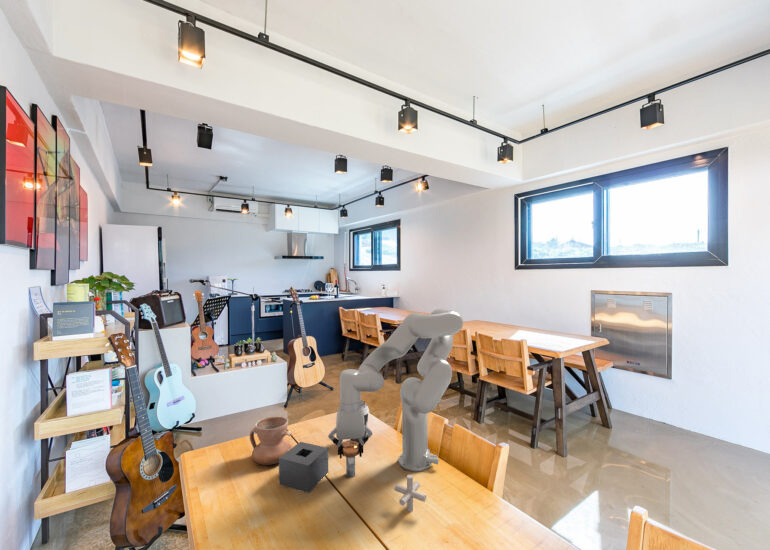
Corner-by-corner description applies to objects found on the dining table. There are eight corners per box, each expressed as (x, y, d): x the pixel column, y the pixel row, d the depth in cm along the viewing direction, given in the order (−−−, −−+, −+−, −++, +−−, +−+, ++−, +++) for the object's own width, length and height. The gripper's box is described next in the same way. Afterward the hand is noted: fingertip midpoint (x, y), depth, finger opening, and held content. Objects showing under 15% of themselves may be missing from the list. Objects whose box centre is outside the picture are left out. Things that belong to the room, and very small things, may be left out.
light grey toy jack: (417, 526, 93) (417, 491, 94) (387, 513, 99) (387, 479, 99) (431, 505, 102) (431, 473, 102) (403, 494, 107) (403, 463, 107)
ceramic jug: (301, 452, 133) (300, 416, 134) (280, 472, 119) (280, 432, 120) (262, 447, 138) (262, 412, 139) (238, 465, 124) (238, 427, 125)
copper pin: (362, 471, 120) (362, 442, 120) (354, 482, 114) (354, 451, 114) (347, 468, 122) (346, 439, 122) (338, 477, 116) (338, 447, 116)
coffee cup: (368, 447, 137) (368, 411, 137) (345, 447, 137) (345, 411, 137) (370, 436, 146) (370, 402, 146) (348, 436, 146) (348, 402, 146)
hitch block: (328, 472, 119) (328, 447, 119) (308, 493, 108) (308, 465, 108) (300, 465, 124) (300, 441, 124) (279, 484, 113) (278, 458, 113)
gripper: (373, 400, 123) (373, 448, 123) (326, 402, 121) (326, 452, 121) (375, 408, 116) (375, 459, 116) (325, 411, 113) (325, 463, 113)
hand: (350, 455), depth 118 cm, fingers closed on copper pin, 6 cm apart
